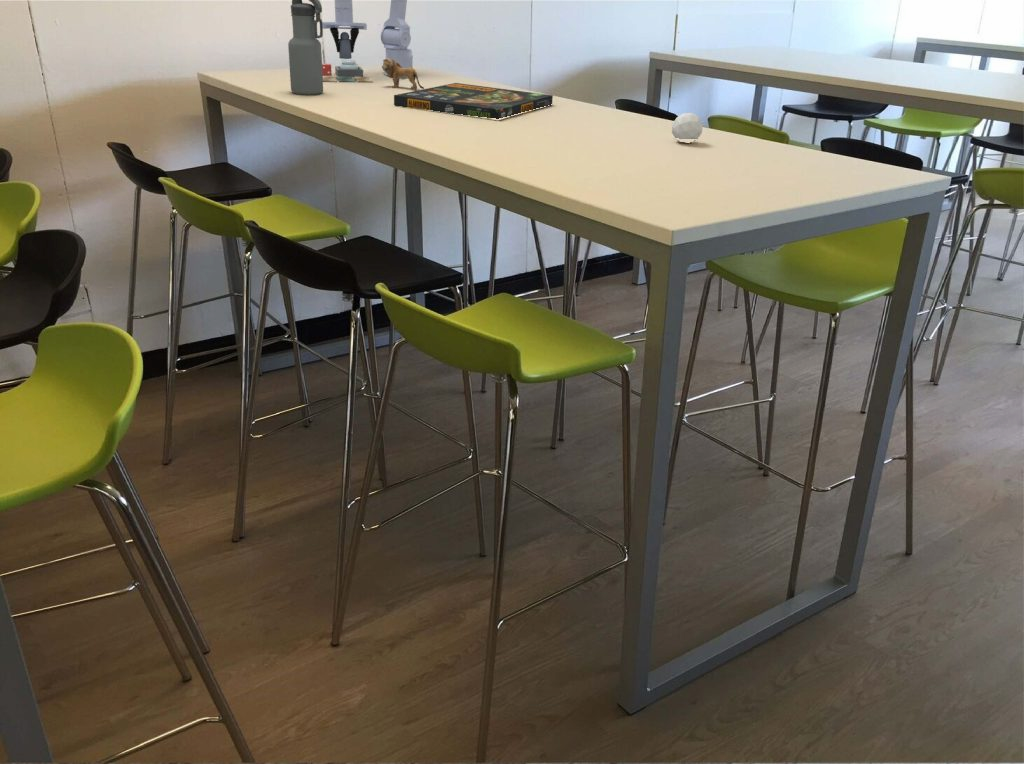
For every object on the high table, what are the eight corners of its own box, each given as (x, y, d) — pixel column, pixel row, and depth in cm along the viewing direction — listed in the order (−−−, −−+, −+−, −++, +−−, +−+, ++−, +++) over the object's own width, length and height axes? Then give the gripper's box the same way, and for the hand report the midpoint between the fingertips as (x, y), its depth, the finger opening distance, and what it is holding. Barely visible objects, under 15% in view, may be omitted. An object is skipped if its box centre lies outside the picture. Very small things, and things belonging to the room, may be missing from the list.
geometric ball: (683, 155, 230) (675, 132, 224) (671, 138, 236) (664, 115, 230) (709, 141, 229) (703, 117, 223) (698, 124, 234) (691, 101, 228)
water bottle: (328, 91, 278) (324, -6, 266) (319, 96, 269) (314, -4, 257) (296, 89, 279) (291, -8, 266) (286, 94, 270) (280, -6, 258)
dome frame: (360, 73, 317) (360, 66, 316) (363, 77, 310) (363, 69, 309) (335, 73, 315) (335, 66, 314) (337, 76, 308) (337, 69, 307)
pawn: (350, 57, 301) (349, 31, 297) (352, 59, 298) (351, 32, 294) (338, 57, 300) (337, 31, 296) (340, 58, 297) (339, 32, 293)
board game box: (394, 107, 261) (393, 95, 259) (455, 94, 289) (455, 82, 288) (498, 122, 247) (498, 109, 246) (551, 107, 275) (552, 95, 274)
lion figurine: (379, 87, 291) (379, 58, 287) (386, 85, 296) (386, 56, 292) (421, 91, 288) (421, 62, 284) (427, 89, 292) (427, 60, 288)
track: (368, 78, 308) (368, 76, 308) (372, 82, 300) (372, 81, 300) (318, 77, 304) (318, 76, 304) (321, 81, 295) (321, 80, 295)
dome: (357, 71, 316) (356, 59, 314) (359, 73, 310) (359, 62, 308) (339, 70, 314) (338, 59, 312) (340, 73, 308) (340, 61, 307)
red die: (330, 74, 313) (330, 63, 311) (331, 75, 310) (331, 64, 308) (320, 73, 312) (320, 63, 310) (321, 75, 309) (320, 64, 307)
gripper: (322, 8, 287) (324, 53, 293) (367, 10, 290) (368, 53, 296) (320, 7, 293) (322, 50, 299) (364, 8, 296) (365, 51, 302)
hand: (345, 52), depth 298 cm, fingers closed on pawn, 4 cm apart
